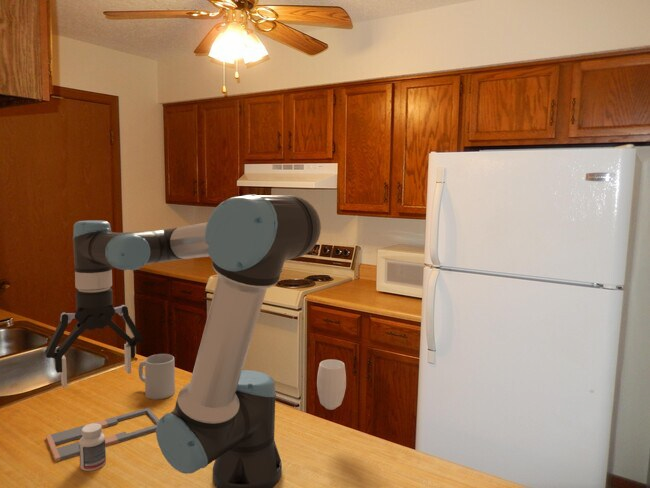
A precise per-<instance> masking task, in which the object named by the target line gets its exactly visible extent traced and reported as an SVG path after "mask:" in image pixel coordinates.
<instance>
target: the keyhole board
mask: <svg viewBox="0 0 650 488" xmlns="http://www.w3.org/2000/svg"><path fill="white" fill-rule="evenodd" d="M146 414H147V416H149V418H150V419H151V420H152V421H153V422H154V423H155V424H154V425H150V426H148V427H143V428H141V429H137V430H134V431H131V432H128V433H127V431H123V432H118V433H116V434H112V435H109V436H105V447H107V446H111V445H115V444H118V443H121V442H125V441H127V440H131V439H134V438H138V437H140V436H144V435H147V434H149V433H150V434H151V433H153V432H156V427H157V423H158V421H159V420H160V419H159V417H157V416H156V414H155V413H154V412H153V411H152V410H151V409H150V408H149V407H146V408H142V409H138V410H134V411H131V412H127V413H124V414H121V415H117V416H113V417H110V418H105V419H103V420H98V421H95V422H91V423H87V424H84V425H81V426H77V427H73V428H69V429H65V430H62V431H58V432H54V433H52V434H49V435H46V436H45V438H46V441H47V444H48V447H49V449H50V451H51V454H52V457H53V459H54V462H55V463H56V462H60V461H64V460H66V459H70V458H72V457H73V458H74V457H76V456H78V455H79V456H80V452H79V441H76V442H74V443H70V444H65V443H68V442H72V441H75V440H80V439H81V438H82V437H83V436H82V428H83V427H84V426H86V425H89V424H94V423H97V424H100V425H101V426H102V429H106V428H108V427H113V426H114V425H118V422H121V421H125V420H128V419H132V418H135V417H139V416H142V415H146ZM61 444H65V445H63V446H60V447H59V446H58V445H61ZM57 446H58V447H57Z"/></svg>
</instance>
